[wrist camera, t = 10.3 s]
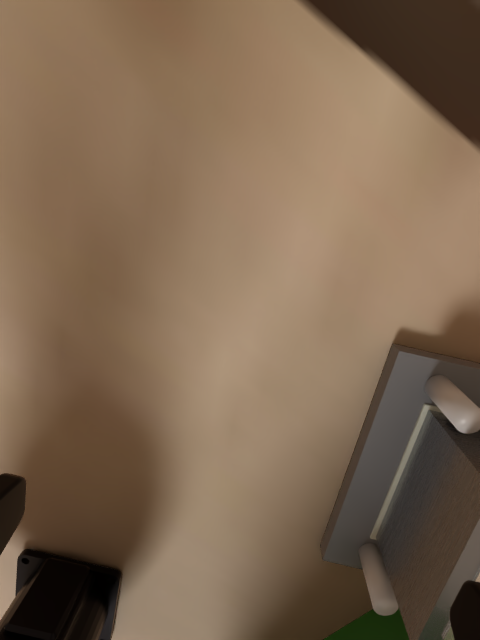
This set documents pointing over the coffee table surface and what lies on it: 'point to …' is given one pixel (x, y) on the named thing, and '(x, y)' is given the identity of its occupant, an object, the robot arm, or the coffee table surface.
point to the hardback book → (373, 628)
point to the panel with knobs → (394, 455)
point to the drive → (433, 527)
